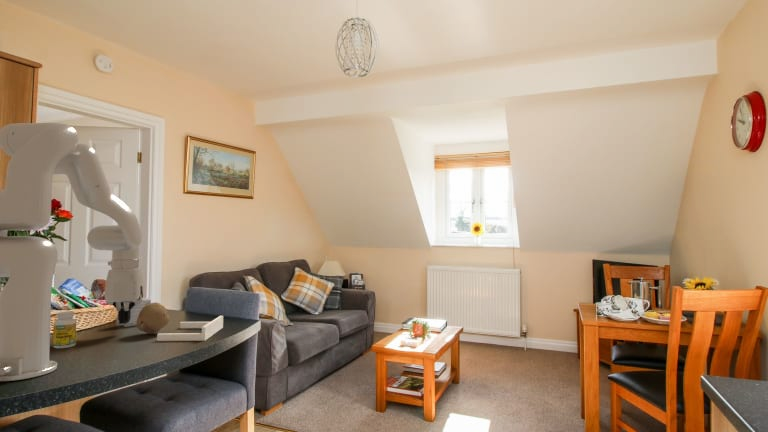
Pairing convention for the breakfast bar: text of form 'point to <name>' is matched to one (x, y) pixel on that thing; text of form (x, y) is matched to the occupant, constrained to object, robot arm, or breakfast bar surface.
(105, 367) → the breakfast bar surface
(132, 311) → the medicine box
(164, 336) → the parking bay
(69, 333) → the supplement bottle
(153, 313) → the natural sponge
